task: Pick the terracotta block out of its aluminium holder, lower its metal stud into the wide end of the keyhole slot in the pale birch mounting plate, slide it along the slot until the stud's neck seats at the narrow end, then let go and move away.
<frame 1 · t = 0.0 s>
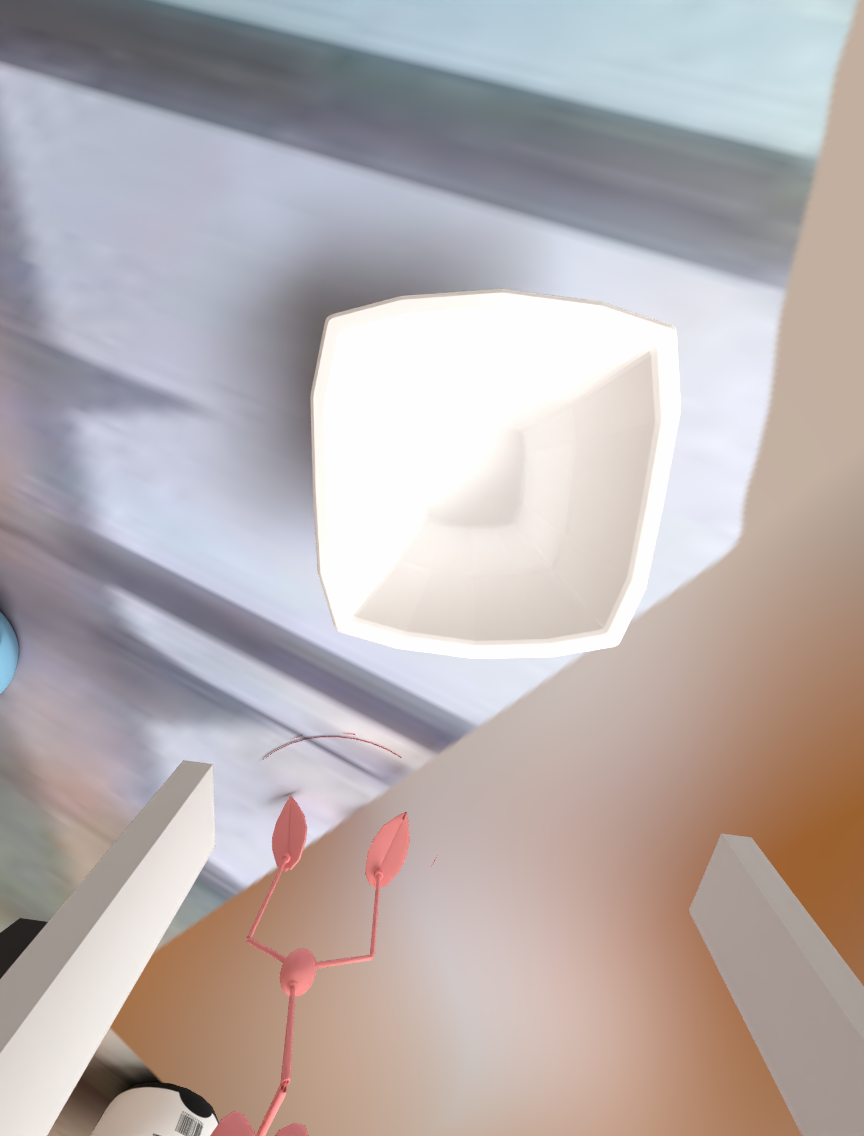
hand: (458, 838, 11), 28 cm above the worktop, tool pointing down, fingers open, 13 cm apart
pink leafy branch: (351, 791, 46), on the worktop
bowl: (473, 475, 36), on the worktop
milk container: (172, 1100, 65), on the worktop
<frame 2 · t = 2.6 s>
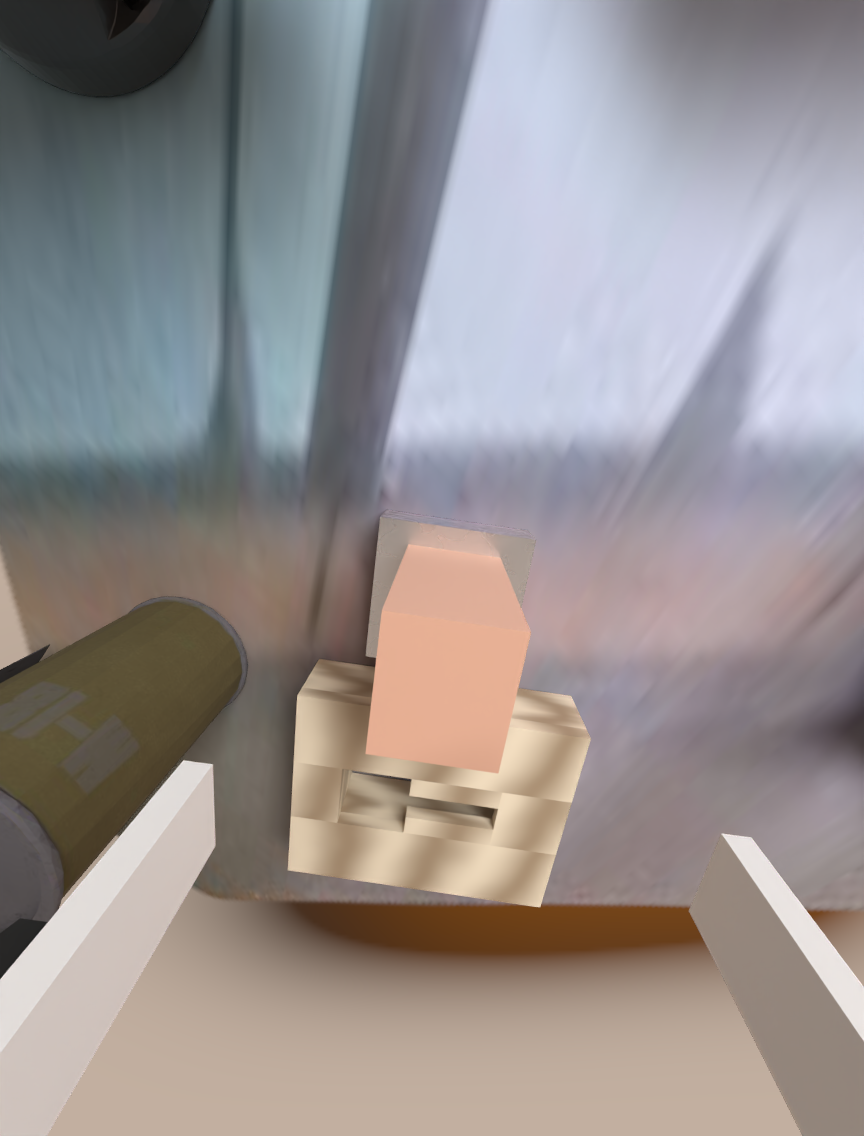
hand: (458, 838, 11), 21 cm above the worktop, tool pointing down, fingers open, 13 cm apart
canister: (183, 653, 34), on the worktop
holder: (446, 586, 31), on the worktop
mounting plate: (430, 759, 36), on the worktop
stud block: (446, 587, 31), resting in holder
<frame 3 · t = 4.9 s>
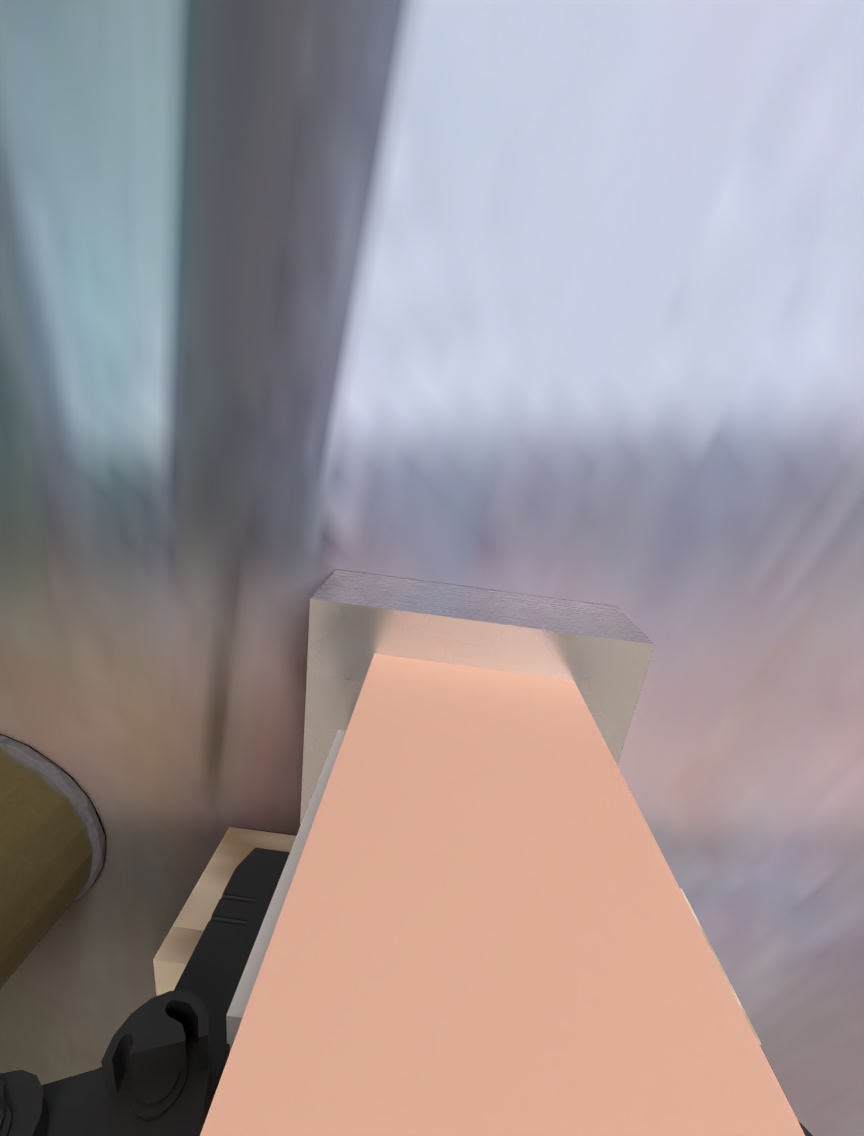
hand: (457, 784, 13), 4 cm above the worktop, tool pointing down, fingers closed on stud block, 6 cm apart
holder: (456, 708, 16), on the worktop
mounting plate: (432, 979, 21), on the worktop
stud block: (456, 711, 16), resting in holder, touching gripper
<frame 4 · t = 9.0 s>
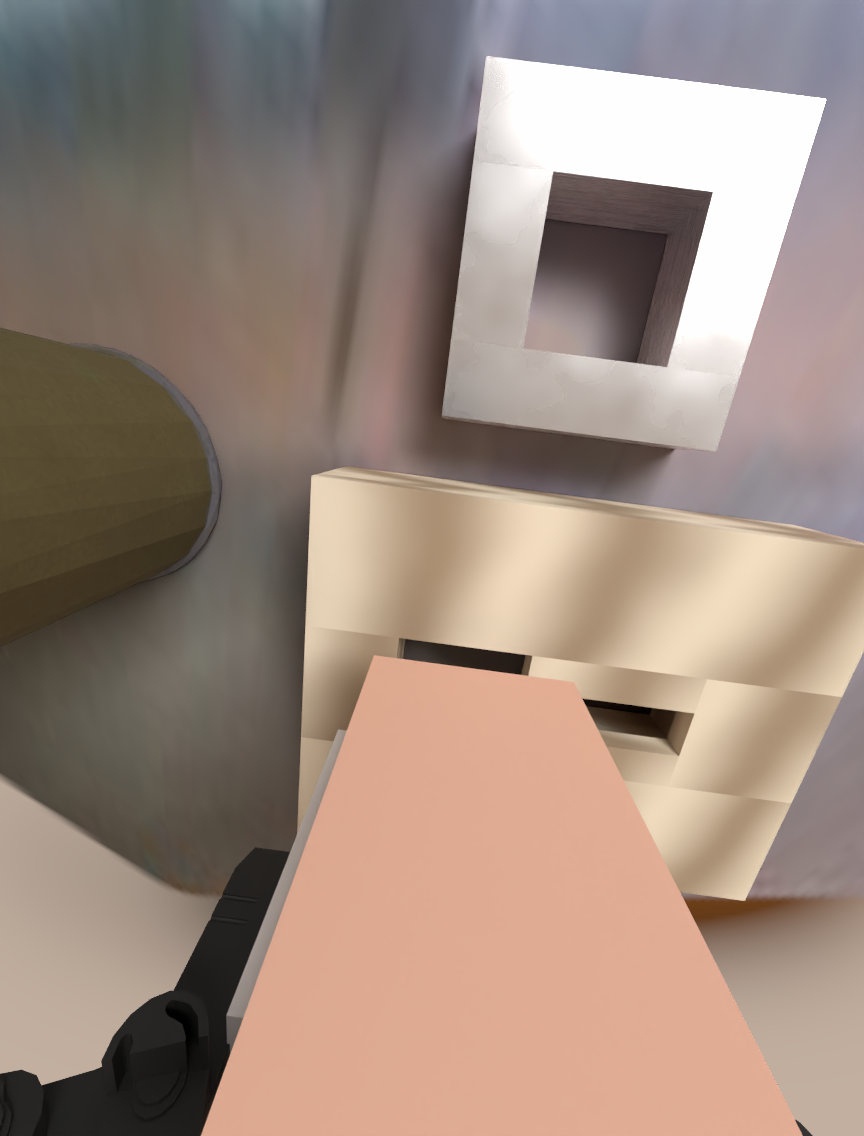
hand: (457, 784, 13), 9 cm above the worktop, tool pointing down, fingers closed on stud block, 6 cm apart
canister: (110, 467, 20), on the worktop
holder: (586, 301, 17), on the worktop
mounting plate: (534, 655, 21), on the worktop
stud block: (456, 712, 16), point 5 cm above the worktop, touching gripper
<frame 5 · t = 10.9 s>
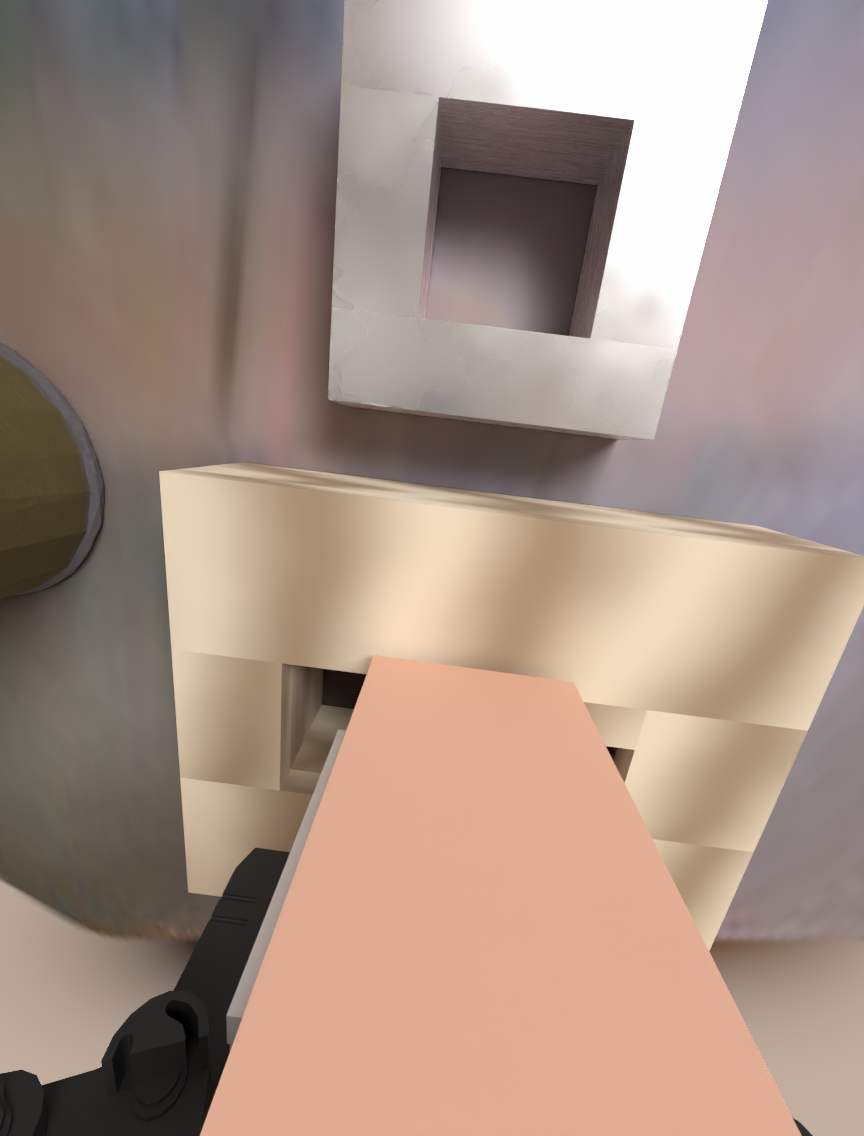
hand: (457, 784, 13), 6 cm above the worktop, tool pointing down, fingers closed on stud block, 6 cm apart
holder: (506, 266, 14), on the worktop
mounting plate: (469, 675, 19), on the worktop
stud block: (455, 712, 16), point 3 cm above the worktop, touching gripper
when the fingers open (6 cm above the worktop, at t = 12.9 s): stud block stays where it is, resting on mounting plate.
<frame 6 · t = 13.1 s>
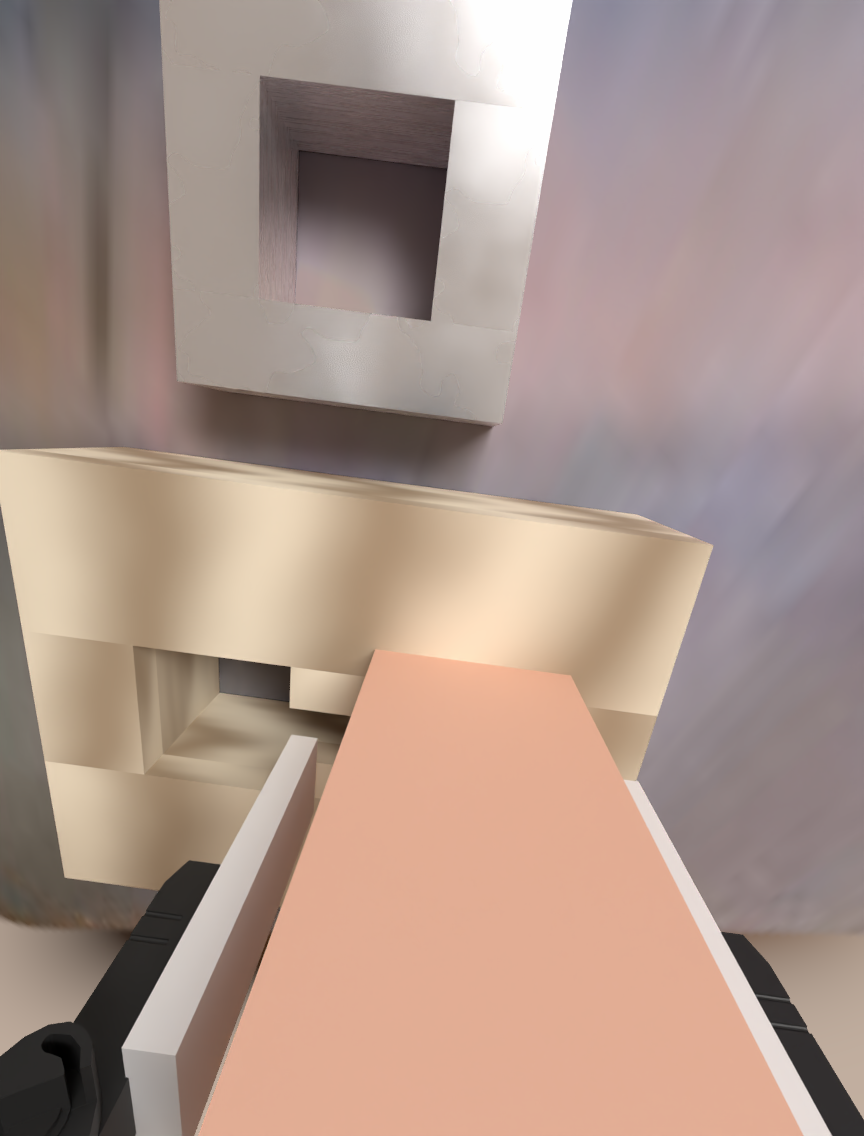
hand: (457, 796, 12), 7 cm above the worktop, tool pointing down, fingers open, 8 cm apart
holder: (370, 251, 14), on the worktop
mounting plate: (363, 663, 19), on the worktop
stud block: (455, 707, 17), point 2 cm above the worktop, touching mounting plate
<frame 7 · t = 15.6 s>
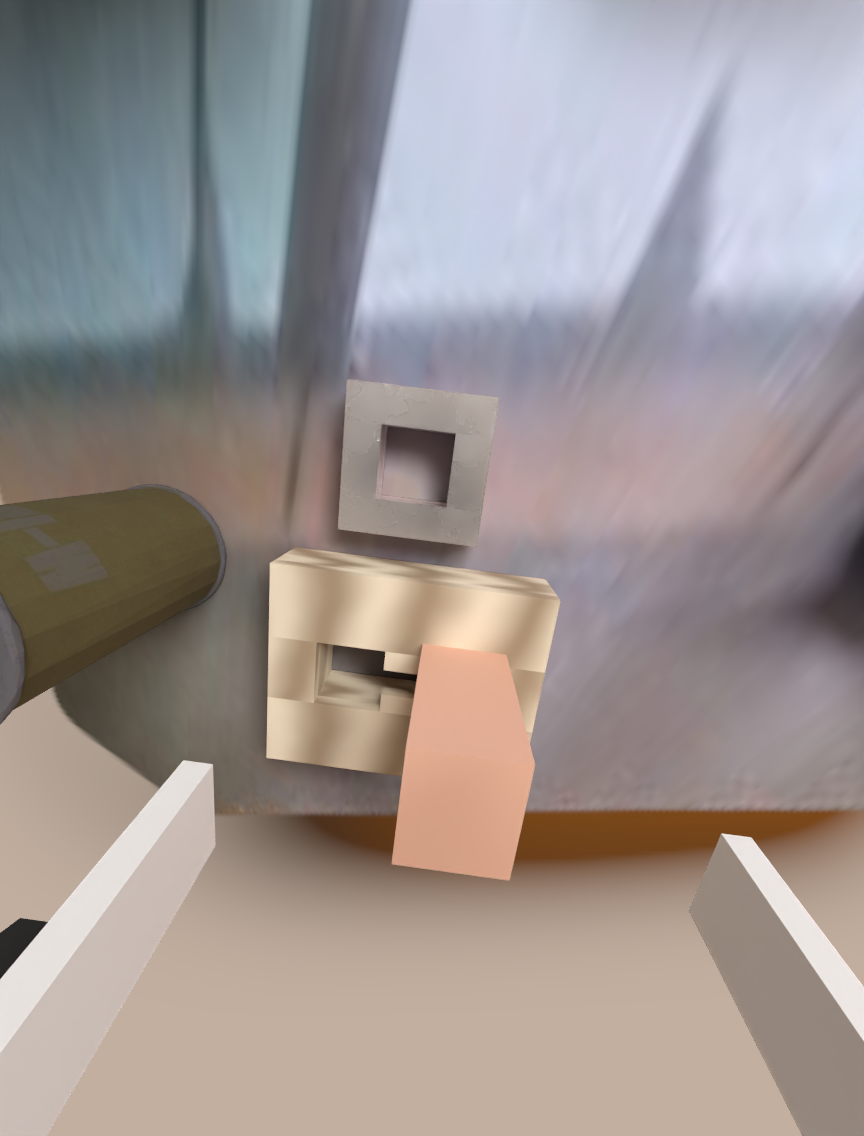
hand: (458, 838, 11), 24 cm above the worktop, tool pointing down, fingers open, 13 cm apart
canister: (163, 547, 35), on the worktop
holder: (418, 465, 32), on the worktop
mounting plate: (409, 653, 36), on the worktop
stud block: (457, 673, 34), point 2 cm above the worktop, touching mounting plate
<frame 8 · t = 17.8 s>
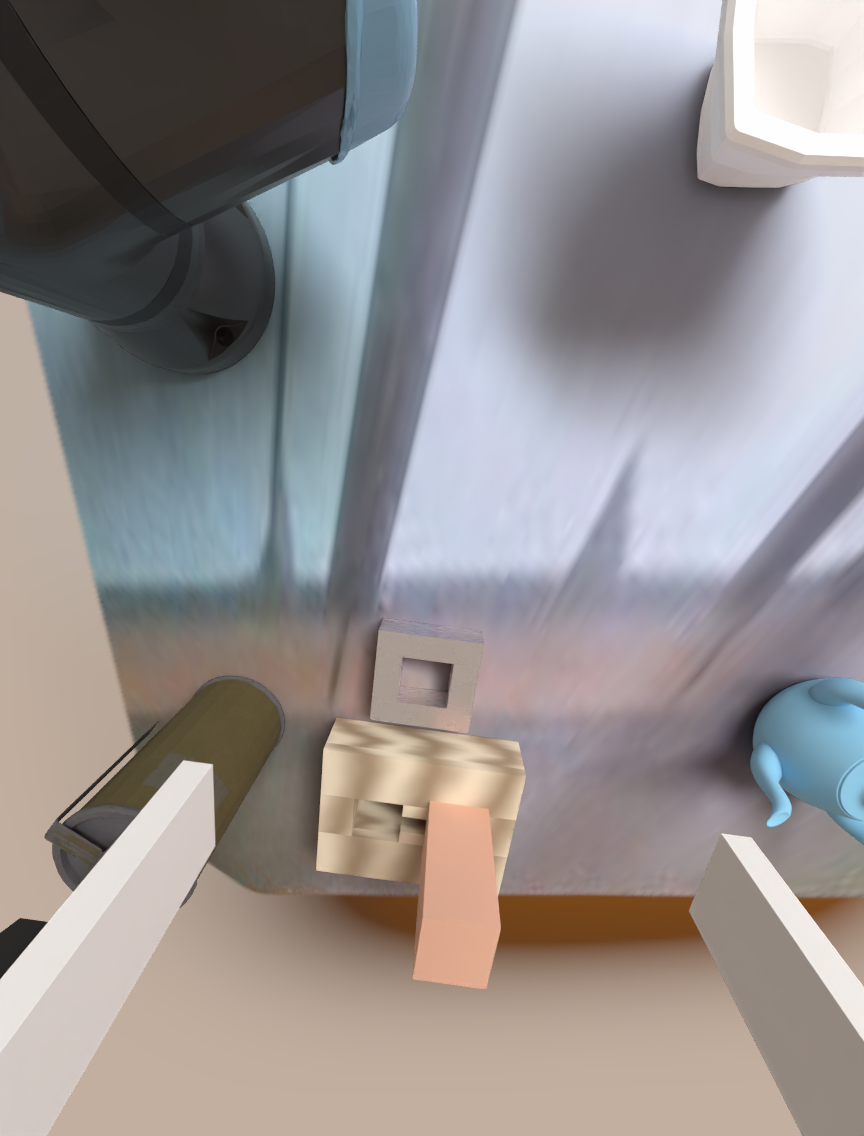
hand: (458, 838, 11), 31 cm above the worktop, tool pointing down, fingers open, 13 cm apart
canister: (238, 714, 47), on the worktop
teapot: (794, 724, 45), on the worktop
holder: (426, 668, 44), on the worktop
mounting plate: (418, 788, 49), on the worktop
stud block: (454, 809, 47), point 2 cm above the worktop, touching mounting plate
bowl: (752, 126, 31), on the worktop
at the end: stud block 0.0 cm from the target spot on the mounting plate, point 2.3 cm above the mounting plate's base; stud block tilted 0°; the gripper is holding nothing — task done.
